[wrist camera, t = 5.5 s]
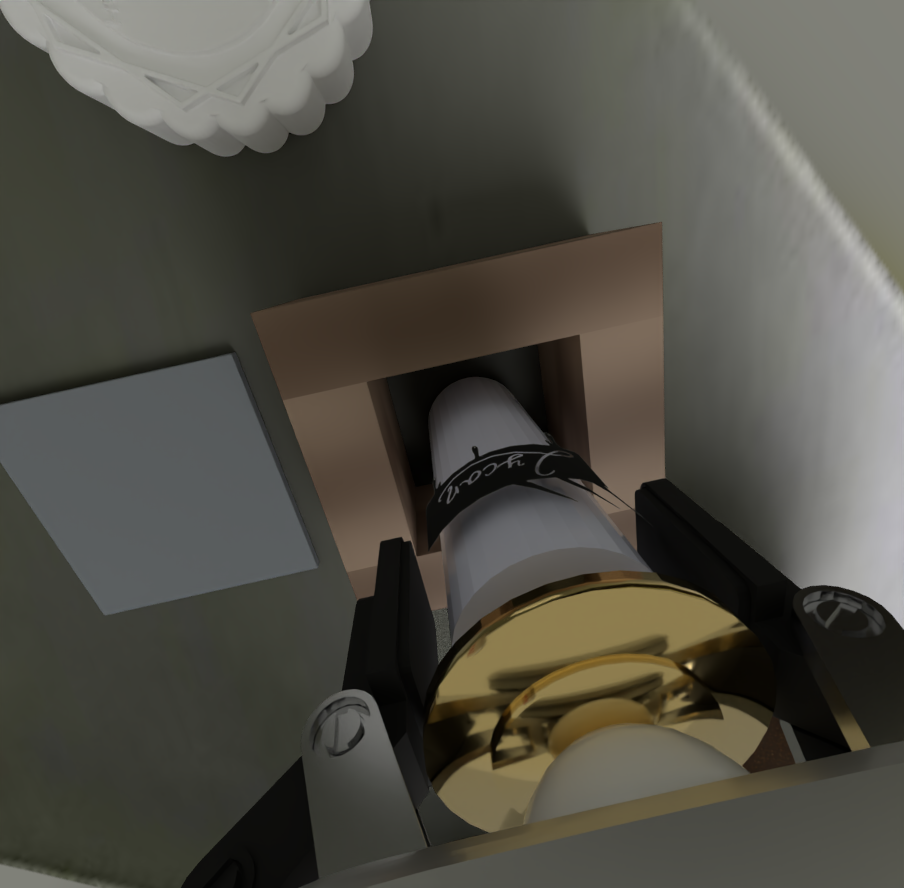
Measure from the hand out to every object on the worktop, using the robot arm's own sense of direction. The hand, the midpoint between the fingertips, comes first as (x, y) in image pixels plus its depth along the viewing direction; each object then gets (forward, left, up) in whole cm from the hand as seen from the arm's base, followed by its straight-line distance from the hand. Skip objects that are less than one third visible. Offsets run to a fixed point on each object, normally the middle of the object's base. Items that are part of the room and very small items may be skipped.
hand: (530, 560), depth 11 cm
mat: (0, +16, -12) cm, 20 cm away
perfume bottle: (0, 0, -12) cm, 12 cm away
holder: (+1, 0, -12) cm, 12 cm away
